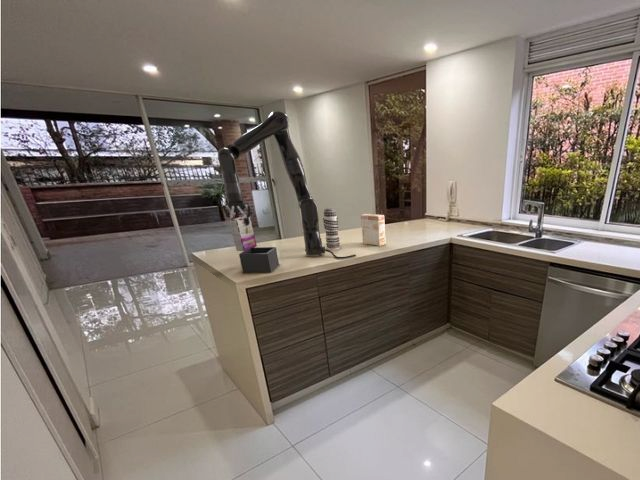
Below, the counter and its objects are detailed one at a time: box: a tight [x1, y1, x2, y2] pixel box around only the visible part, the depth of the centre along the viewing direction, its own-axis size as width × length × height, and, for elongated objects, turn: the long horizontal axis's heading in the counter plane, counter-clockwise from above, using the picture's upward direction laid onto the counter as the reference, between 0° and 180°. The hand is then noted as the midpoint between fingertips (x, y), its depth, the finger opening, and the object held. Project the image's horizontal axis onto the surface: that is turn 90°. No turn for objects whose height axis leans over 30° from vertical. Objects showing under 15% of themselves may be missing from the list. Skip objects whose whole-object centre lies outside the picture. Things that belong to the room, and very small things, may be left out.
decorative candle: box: [322, 207, 341, 251], centre depth 214 cm, size 9×9×25 cm
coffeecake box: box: [360, 213, 386, 247], centre depth 228 cm, size 15×7×20 cm, turn 58°
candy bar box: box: [228, 216, 258, 252], centre depth 181 cm, size 11×5×16 cm, turn 169°
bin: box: [238, 246, 280, 274], centre depth 175 cm, size 14×15×10 cm
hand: (241, 225), depth 179 cm, fingers closed on candy bar box, 5 cm apart
